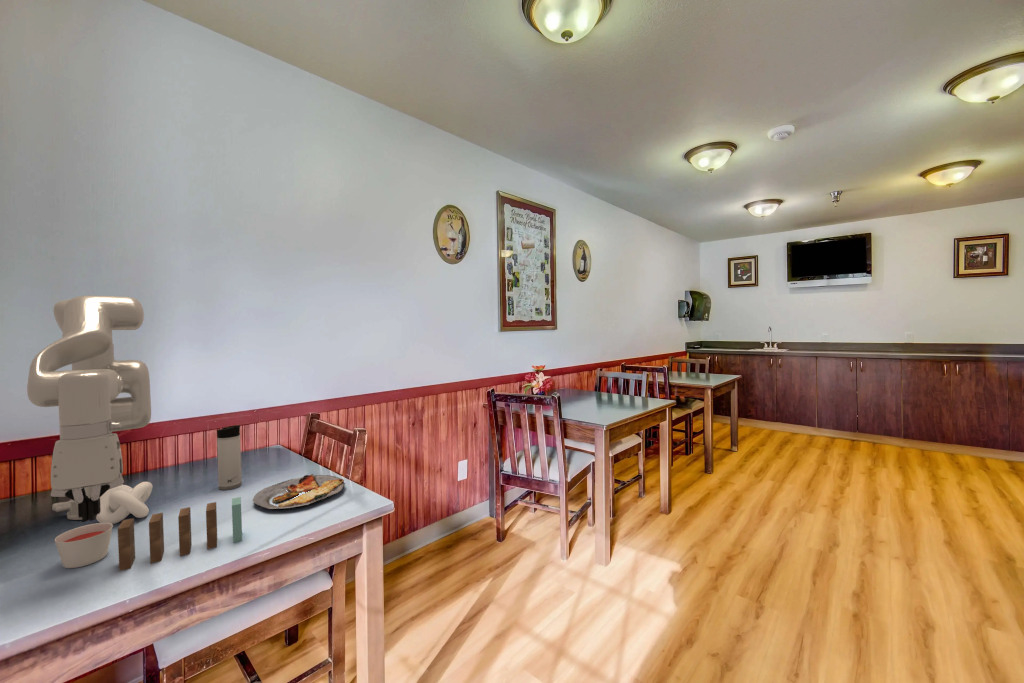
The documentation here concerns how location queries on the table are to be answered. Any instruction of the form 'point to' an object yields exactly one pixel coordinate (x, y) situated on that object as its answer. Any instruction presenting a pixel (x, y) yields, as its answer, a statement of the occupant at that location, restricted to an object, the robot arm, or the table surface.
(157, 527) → the domino
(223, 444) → the travel mug
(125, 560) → the domino
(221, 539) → the table surface
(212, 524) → the domino
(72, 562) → the candle
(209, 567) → the table surface
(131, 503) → the white knot
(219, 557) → the table surface
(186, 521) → the domino
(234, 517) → the domino
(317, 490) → the food plate
